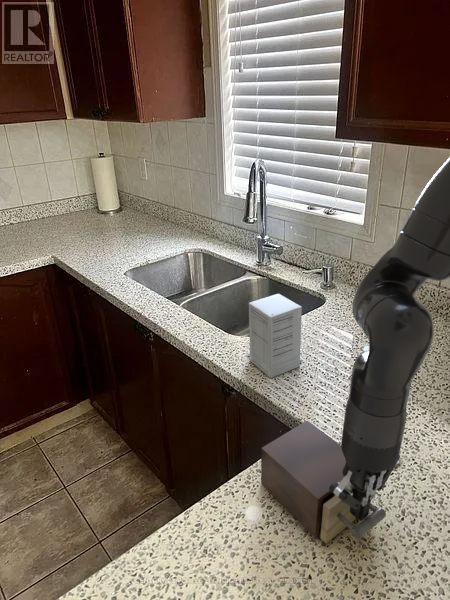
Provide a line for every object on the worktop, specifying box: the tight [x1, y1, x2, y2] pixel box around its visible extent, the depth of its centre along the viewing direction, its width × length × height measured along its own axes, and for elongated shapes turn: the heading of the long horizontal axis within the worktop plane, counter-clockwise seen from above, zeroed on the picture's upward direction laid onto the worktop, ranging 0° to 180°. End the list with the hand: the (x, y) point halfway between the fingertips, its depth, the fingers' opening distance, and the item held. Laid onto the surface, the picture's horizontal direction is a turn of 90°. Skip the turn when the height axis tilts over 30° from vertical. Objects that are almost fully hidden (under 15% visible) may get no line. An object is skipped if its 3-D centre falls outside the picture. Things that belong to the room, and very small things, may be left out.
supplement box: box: [248, 293, 303, 379], centre depth 109 cm, size 10×9×17 cm
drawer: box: [319, 493, 387, 544], centre depth 71 cm, size 16×10×8 cm, turn 36°
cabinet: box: [260, 420, 346, 538], centre depth 74 cm, size 13×11×10 cm
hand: (359, 514), depth 67 cm, fingers closed
